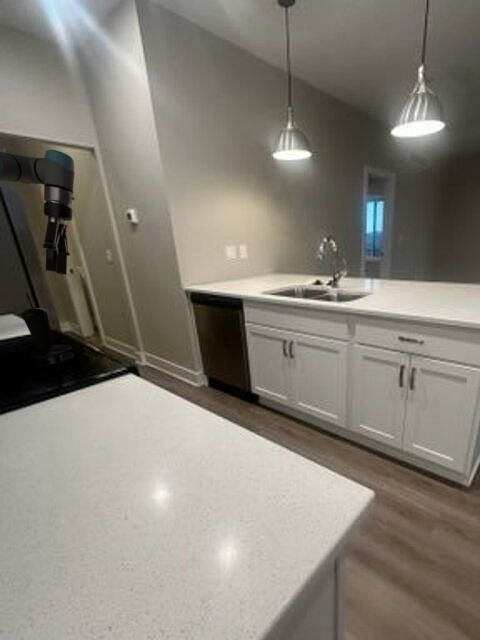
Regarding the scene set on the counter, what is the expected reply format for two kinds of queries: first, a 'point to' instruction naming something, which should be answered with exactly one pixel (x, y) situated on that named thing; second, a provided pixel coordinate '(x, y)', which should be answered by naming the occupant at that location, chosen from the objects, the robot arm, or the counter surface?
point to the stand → (52, 356)
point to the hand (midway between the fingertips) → (56, 272)
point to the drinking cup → (38, 325)
